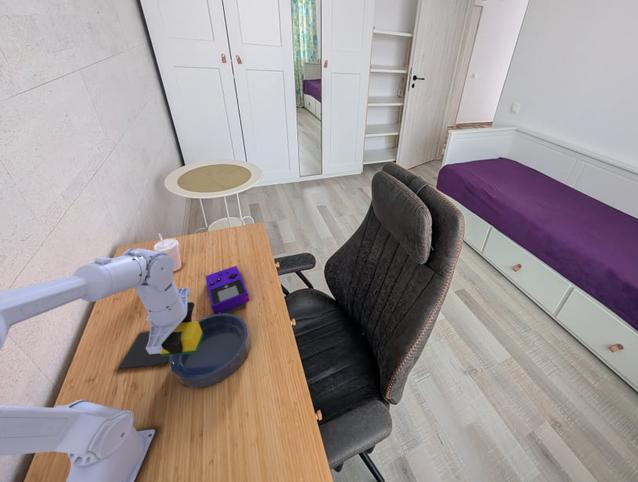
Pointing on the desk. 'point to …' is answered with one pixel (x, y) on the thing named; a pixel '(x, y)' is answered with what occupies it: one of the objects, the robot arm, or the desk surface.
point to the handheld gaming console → (226, 290)
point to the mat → (142, 355)
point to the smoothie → (169, 250)
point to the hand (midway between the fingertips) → (181, 341)
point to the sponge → (187, 338)
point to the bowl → (213, 352)
